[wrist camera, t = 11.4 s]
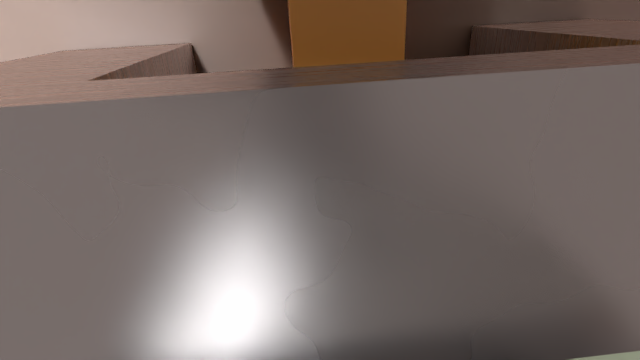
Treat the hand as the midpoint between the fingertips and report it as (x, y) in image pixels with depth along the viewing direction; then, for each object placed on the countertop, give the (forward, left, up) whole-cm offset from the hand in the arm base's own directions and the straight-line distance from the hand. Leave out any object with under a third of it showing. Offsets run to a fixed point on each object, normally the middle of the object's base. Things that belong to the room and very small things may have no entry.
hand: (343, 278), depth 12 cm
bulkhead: (-5, 0, 0) cm, 5 cm away
